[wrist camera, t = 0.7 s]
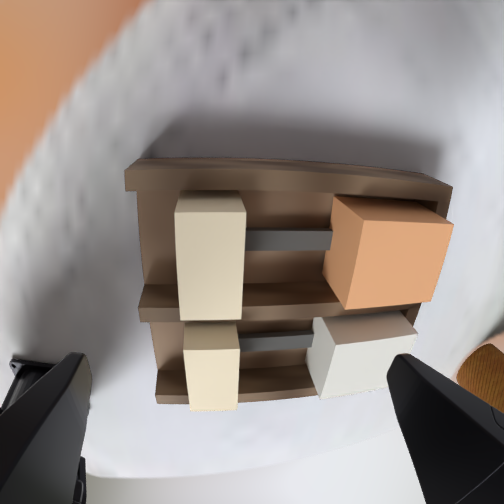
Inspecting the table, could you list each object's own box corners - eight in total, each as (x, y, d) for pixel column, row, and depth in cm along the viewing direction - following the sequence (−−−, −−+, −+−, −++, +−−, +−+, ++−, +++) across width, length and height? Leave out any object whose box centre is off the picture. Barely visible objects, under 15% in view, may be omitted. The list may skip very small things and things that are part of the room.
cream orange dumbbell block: (183, 279, 19) (180, 320, 16) (181, 188, 17) (174, 212, 13) (399, 273, 21) (429, 304, 18) (416, 198, 19) (454, 220, 15)
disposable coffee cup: (432, 392, 31) (479, 467, 21) (479, 328, 28) (543, 401, 17) (471, 389, 34) (513, 450, 23) (512, 334, 30) (565, 393, 20)
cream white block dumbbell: (190, 368, 22) (190, 411, 19) (185, 307, 20) (183, 350, 16) (373, 353, 24) (393, 388, 21) (392, 297, 22) (419, 330, 18)
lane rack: (160, 371, 24) (157, 403, 21) (138, 158, 17) (124, 170, 14) (373, 356, 26) (389, 382, 23) (422, 173, 19) (453, 186, 16)
